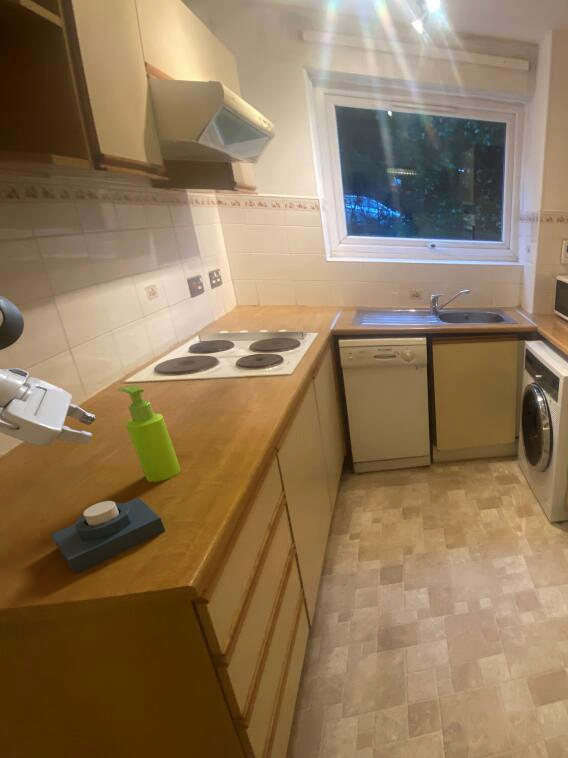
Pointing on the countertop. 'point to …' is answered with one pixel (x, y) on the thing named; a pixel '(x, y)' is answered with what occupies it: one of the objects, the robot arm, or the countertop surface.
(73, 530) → the button housing
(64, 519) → the countertop surface
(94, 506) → the button
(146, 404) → the soap dispenser
